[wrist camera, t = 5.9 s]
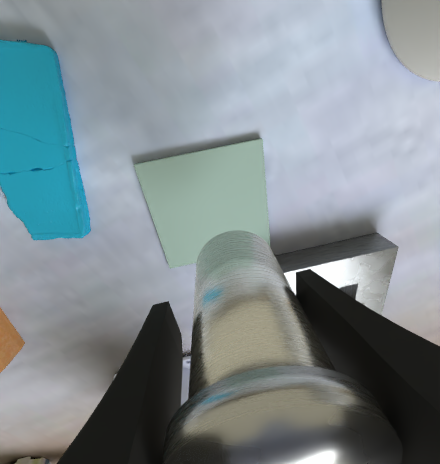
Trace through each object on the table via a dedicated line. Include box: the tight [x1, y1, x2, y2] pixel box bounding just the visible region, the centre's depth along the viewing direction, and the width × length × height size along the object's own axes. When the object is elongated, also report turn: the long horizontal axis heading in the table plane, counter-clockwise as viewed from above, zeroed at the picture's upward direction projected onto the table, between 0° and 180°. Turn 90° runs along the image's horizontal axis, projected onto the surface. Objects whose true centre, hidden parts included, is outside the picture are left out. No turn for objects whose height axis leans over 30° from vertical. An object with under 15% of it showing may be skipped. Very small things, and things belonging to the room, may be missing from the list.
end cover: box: [162, 230, 403, 464], centre depth 9 cm, size 5×5×9 cm
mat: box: [134, 138, 270, 268], centre depth 18 cm, size 9×9×1 cm
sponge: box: [0, 40, 91, 240], centre depth 15 cm, size 2×12×6 cm
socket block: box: [275, 233, 398, 315], centre depth 24 cm, size 12×12×2 cm
